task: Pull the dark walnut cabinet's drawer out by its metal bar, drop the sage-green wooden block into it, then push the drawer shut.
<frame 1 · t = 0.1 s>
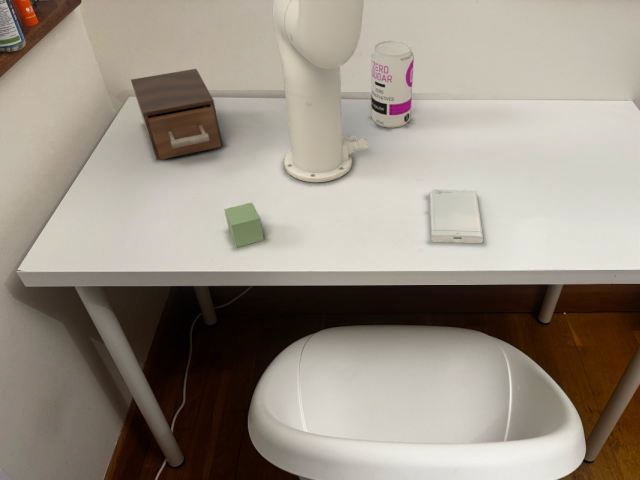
drawer: (181, 123, 107), point 5 cm above the table, slide at 0.5 cm
hard drive: (454, 220, 95), on the table
white soda can: (390, 120, 119), on the table
cabinet: (182, 135, 113), on the table
block: (246, 235, 91), on the table
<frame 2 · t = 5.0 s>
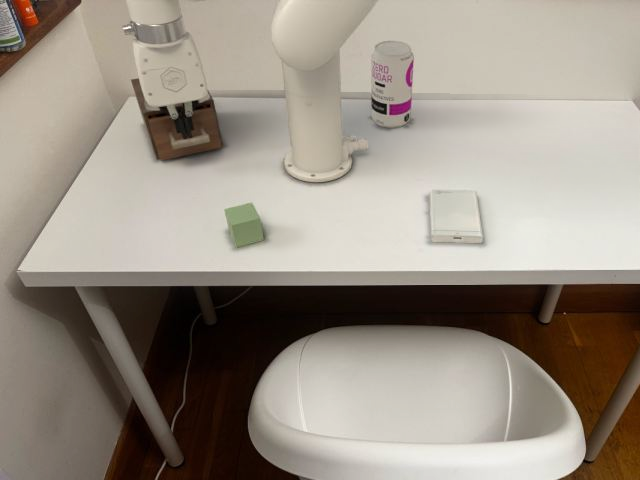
hand: (186, 134, 101), 6 cm above the table, tool pointing down, fingers closed
drawer: (182, 124, 106), point 5 cm above the table, slide at 0.8 cm, touching gripper
everything else where it was.
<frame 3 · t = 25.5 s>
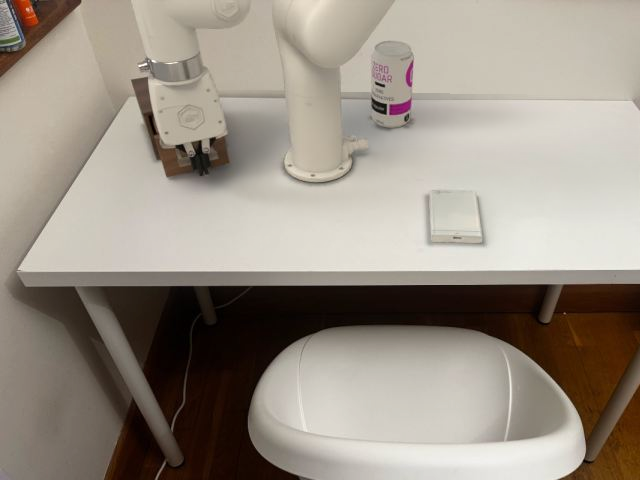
hand: (202, 171, 96), 5 cm above the table, tool pointing down, fingers closed
drawer: (189, 140, 102), point 5 cm above the table, slide at 7.0 cm, touching block, gripper
block: (191, 151, 105), point 2 cm above the table, touching drawer
everything else where it was.
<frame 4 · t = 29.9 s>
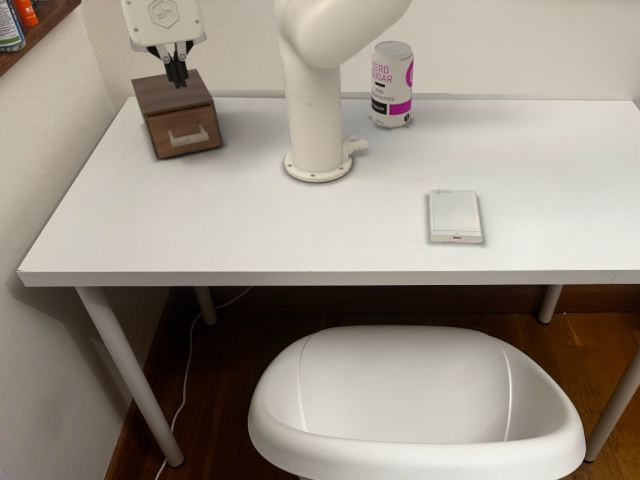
hand: (179, 84, 87), 19 cm above the table, tool pointing down, fingers closed
drawer: (181, 122, 107), point 5 cm above the table, slide at 0.0 cm, touching block
block: (183, 134, 109), point 2 cm above the table, touching drawer
everything else where it was.
at the end: drawer pulled out 7.7 cm at the most during the clip, back to where it started at the end; block inside the target area in the cabinet (3.4 cm from its centre), point 2.0 cm above the cabinet's base; drawer slide at 0.0 cm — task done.
